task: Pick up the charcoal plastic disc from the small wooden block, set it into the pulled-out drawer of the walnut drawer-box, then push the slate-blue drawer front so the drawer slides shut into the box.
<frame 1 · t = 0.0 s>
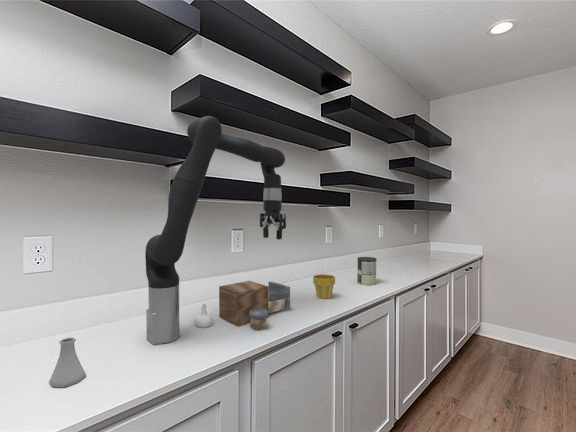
hand: (272, 238, 132), 29 cm above the worktop, fingers open, 8 cm apart
garlic bulb: (204, 325, 114), on the worktop
coffee can: (366, 283, 177), on the worktop
wooden block: (258, 327, 112), on the worktop
plant pot: (323, 297, 150), on the worktop
housing: (243, 317, 122), on the worktop
disc: (258, 316, 112), point 4 cm above the worktop, touching wooden block
drawer: (268, 297, 130), point 6 cm above the worktop, slide at 10.0 cm
flask: (68, 381, 78), on the worktop
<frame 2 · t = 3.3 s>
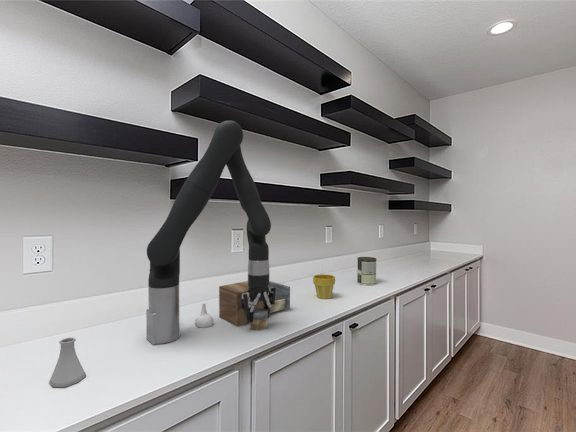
hand: (258, 319, 112), 3 cm above the worktop, fingers closed on disc, 6 cm apart
disc: (258, 316, 112), point 4 cm above the worktop, touching gripper, wooden block
everything else where it was.
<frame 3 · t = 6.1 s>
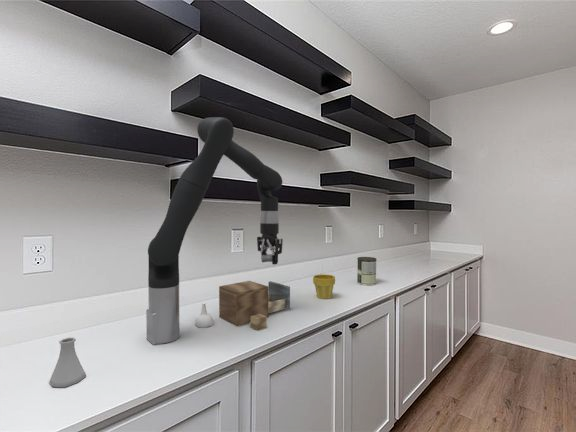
hand: (269, 262, 130), 20 cm above the worktop, fingers closed on disc, 6 cm apart
disc: (269, 260, 130), point 21 cm above the worktop, touching gripper
everything else where it was.
when the fingers open (5 cm above the worktop, at t = 9.3 s): disc drops 4 cm, resting on drawer.
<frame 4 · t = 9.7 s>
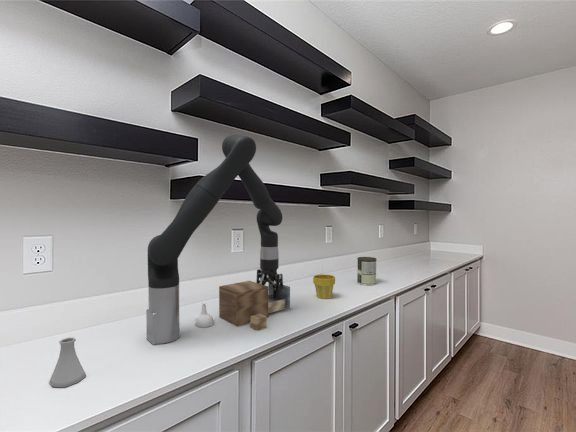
hand: (269, 296, 130), 6 cm above the worktop, fingers open, 8 cm apart
disc: (269, 305, 130), point 2 cm above the worktop, touching drawer
drawer: (268, 297, 130), point 6 cm above the worktop, slide at 10.0 cm, touching disc
everything else where it was.
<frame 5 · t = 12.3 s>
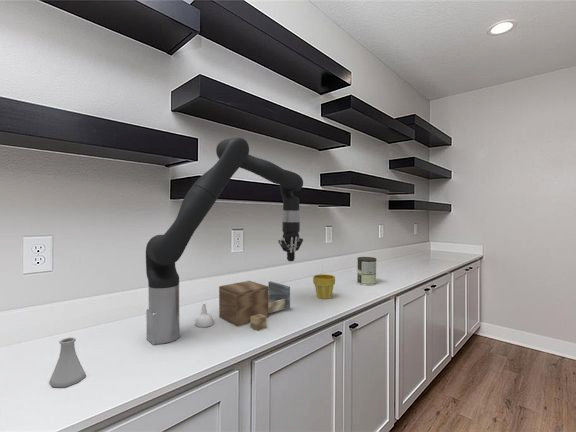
hand: (290, 260, 138), 19 cm above the worktop, fingers closed
nothing on the worktop moved.
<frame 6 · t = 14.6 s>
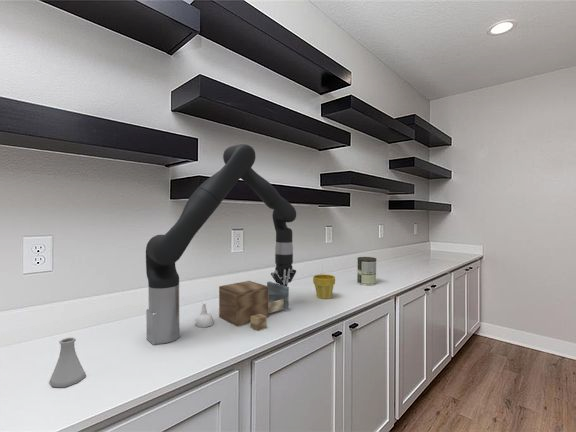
hand: (283, 293, 136), 6 cm above the worktop, fingers closed
drawer: (266, 297, 129), point 6 cm above the worktop, slide at 9.2 cm, touching disc, gripper
everything else where it was.
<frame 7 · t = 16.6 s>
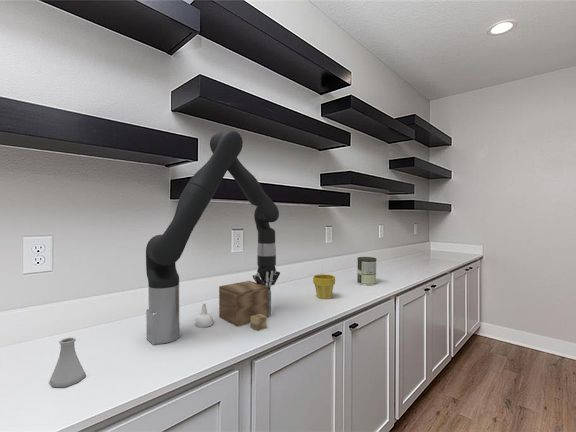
hand: (266, 296, 129), 6 cm above the worktop, fingers closed
disc: (249, 311, 124), point 2 cm above the worktop, touching drawer
drawer: (247, 302, 123), point 5 cm above the worktop, slide at 0.0 cm, touching disc, gripper
everything else where it was.
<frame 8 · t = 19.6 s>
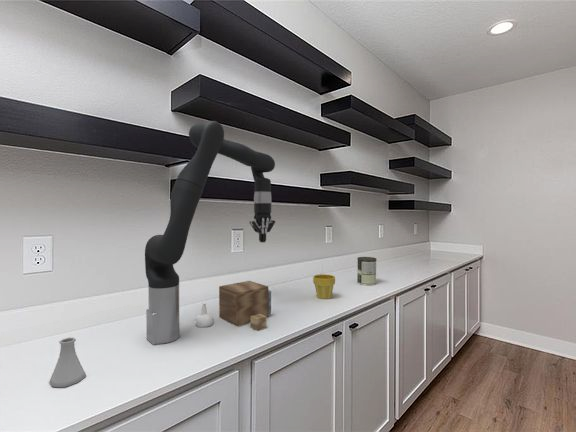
hand: (262, 242, 139), 27 cm above the worktop, fingers closed
drawer: (247, 302, 123), point 6 cm above the worktop, slide at 0.0 cm, touching disc
everything else where it was.
at the end: drawer slide at 0.0 cm; disc inside the target area on the housing (2.4 cm from its centre), point 1.9 cm above the housing's base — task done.
